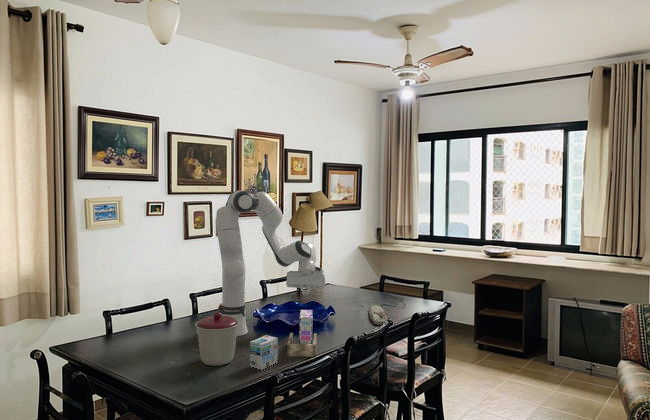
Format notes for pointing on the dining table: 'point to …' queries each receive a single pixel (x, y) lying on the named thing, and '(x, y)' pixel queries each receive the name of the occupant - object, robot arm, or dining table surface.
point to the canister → (217, 339)
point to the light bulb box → (263, 352)
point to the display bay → (301, 347)
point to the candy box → (305, 327)
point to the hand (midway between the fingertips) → (305, 294)
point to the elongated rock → (377, 314)
